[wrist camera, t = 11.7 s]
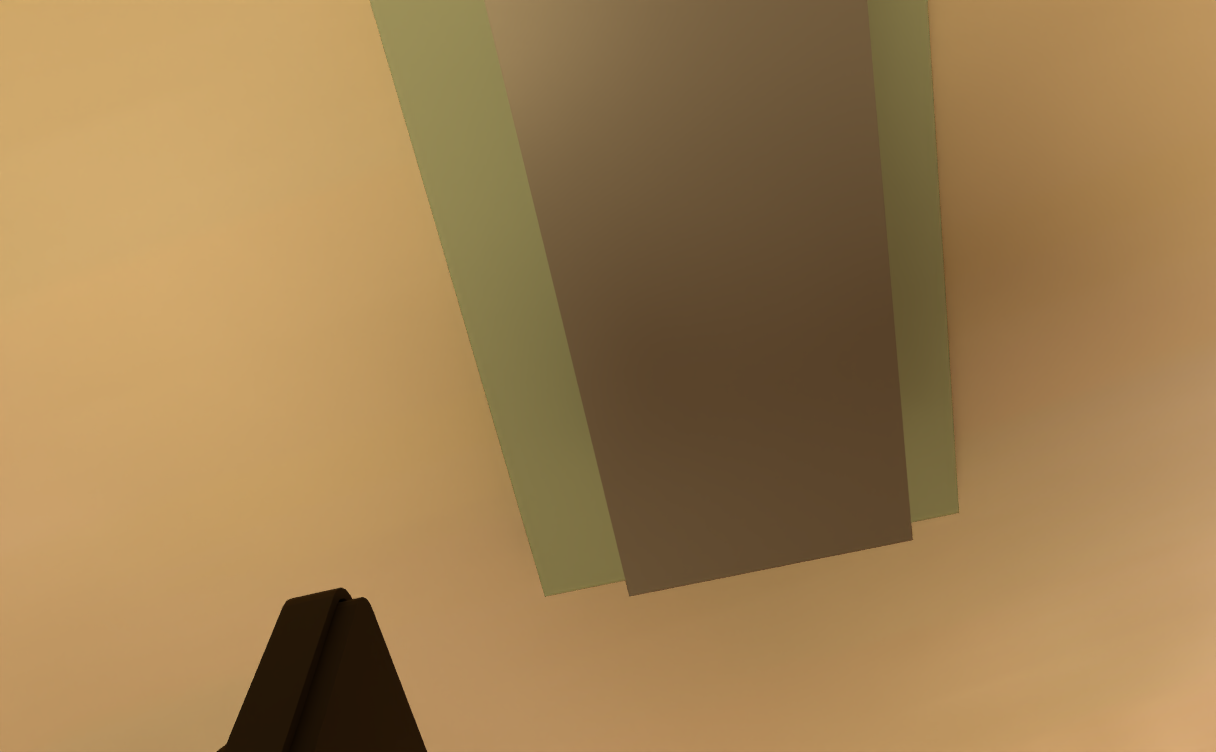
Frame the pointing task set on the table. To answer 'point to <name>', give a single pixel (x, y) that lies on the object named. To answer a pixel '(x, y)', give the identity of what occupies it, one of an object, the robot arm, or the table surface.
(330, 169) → the table surface
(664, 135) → the plug housing
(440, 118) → the pin board
